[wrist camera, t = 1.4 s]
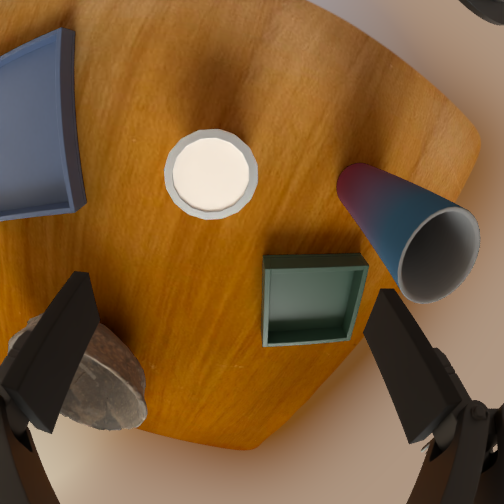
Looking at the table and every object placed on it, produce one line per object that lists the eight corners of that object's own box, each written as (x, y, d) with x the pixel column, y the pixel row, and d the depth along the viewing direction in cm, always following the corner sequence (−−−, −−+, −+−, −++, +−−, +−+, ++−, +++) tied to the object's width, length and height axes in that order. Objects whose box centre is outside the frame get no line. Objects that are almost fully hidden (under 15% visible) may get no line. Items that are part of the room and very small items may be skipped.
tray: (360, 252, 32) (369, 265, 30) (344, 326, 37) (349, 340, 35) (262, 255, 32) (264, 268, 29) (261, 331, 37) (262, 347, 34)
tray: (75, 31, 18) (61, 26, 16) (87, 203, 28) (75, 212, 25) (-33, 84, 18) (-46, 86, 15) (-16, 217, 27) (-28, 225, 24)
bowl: (36, 258, 30) (-6, 303, 22) (176, 318, 35) (162, 381, 27) (40, 351, 39) (18, 393, 30) (144, 396, 44) (134, 444, 35)
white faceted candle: (259, 128, 25) (266, 136, 19) (247, 197, 28) (249, 226, 22) (185, 118, 24) (168, 123, 18) (177, 188, 28) (160, 214, 21)
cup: (353, 140, 26) (448, 183, 13) (398, 178, 28) (492, 242, 15) (315, 195, 29) (376, 279, 15) (362, 228, 31) (433, 316, 17)
